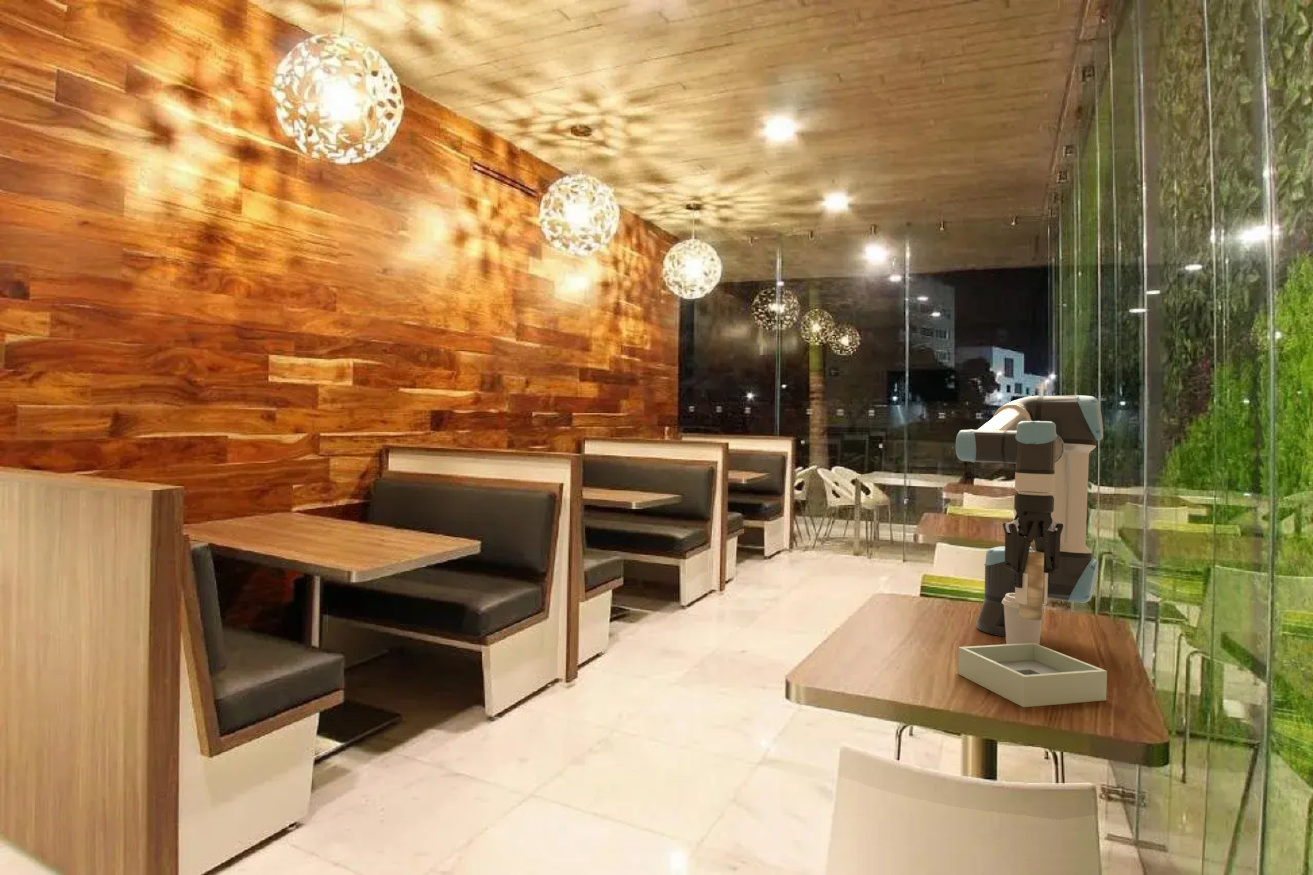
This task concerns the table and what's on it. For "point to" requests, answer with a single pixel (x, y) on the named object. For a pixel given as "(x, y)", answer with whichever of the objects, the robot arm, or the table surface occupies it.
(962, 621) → the table surface
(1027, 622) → the coffee cup
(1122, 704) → the table surface
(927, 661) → the table surface
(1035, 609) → the peg
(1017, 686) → the grey-green open tray
